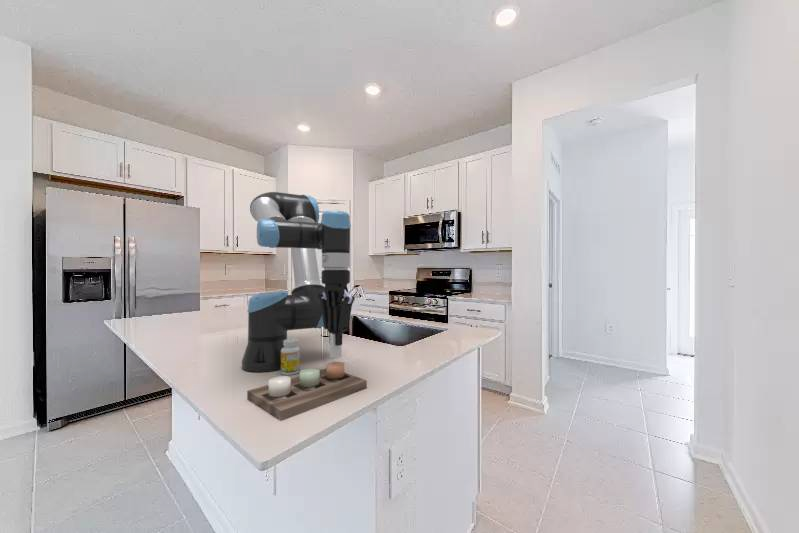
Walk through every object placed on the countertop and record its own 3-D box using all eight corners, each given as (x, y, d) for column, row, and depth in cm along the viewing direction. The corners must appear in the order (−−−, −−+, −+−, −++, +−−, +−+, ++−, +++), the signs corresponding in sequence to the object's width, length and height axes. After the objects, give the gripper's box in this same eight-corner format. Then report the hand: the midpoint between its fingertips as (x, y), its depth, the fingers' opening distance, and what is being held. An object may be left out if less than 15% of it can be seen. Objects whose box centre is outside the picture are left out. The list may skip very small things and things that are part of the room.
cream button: (264, 392, 75) (264, 379, 75) (284, 387, 79) (284, 374, 79) (274, 398, 72) (274, 385, 72) (294, 392, 76) (294, 379, 76)
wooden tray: (247, 399, 78) (247, 390, 78) (329, 374, 96) (329, 367, 96) (280, 420, 67) (280, 410, 67) (366, 387, 85) (366, 380, 85)
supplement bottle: (300, 374, 96) (300, 341, 96) (281, 376, 93) (281, 343, 93) (298, 368, 101) (298, 337, 100) (280, 370, 98) (280, 339, 98)
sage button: (295, 383, 81) (295, 371, 81) (312, 378, 85) (312, 367, 85) (306, 388, 78) (306, 375, 78) (323, 383, 82) (323, 371, 81)
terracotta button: (322, 375, 87) (322, 364, 87) (337, 371, 91) (337, 360, 91) (333, 379, 84) (333, 368, 84) (348, 375, 87) (348, 364, 87)
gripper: (310, 269, 89) (309, 355, 89) (339, 269, 80) (339, 364, 80) (332, 268, 94) (332, 349, 94) (362, 269, 86) (362, 358, 86)
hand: (335, 356), depth 87 cm, fingers closed
